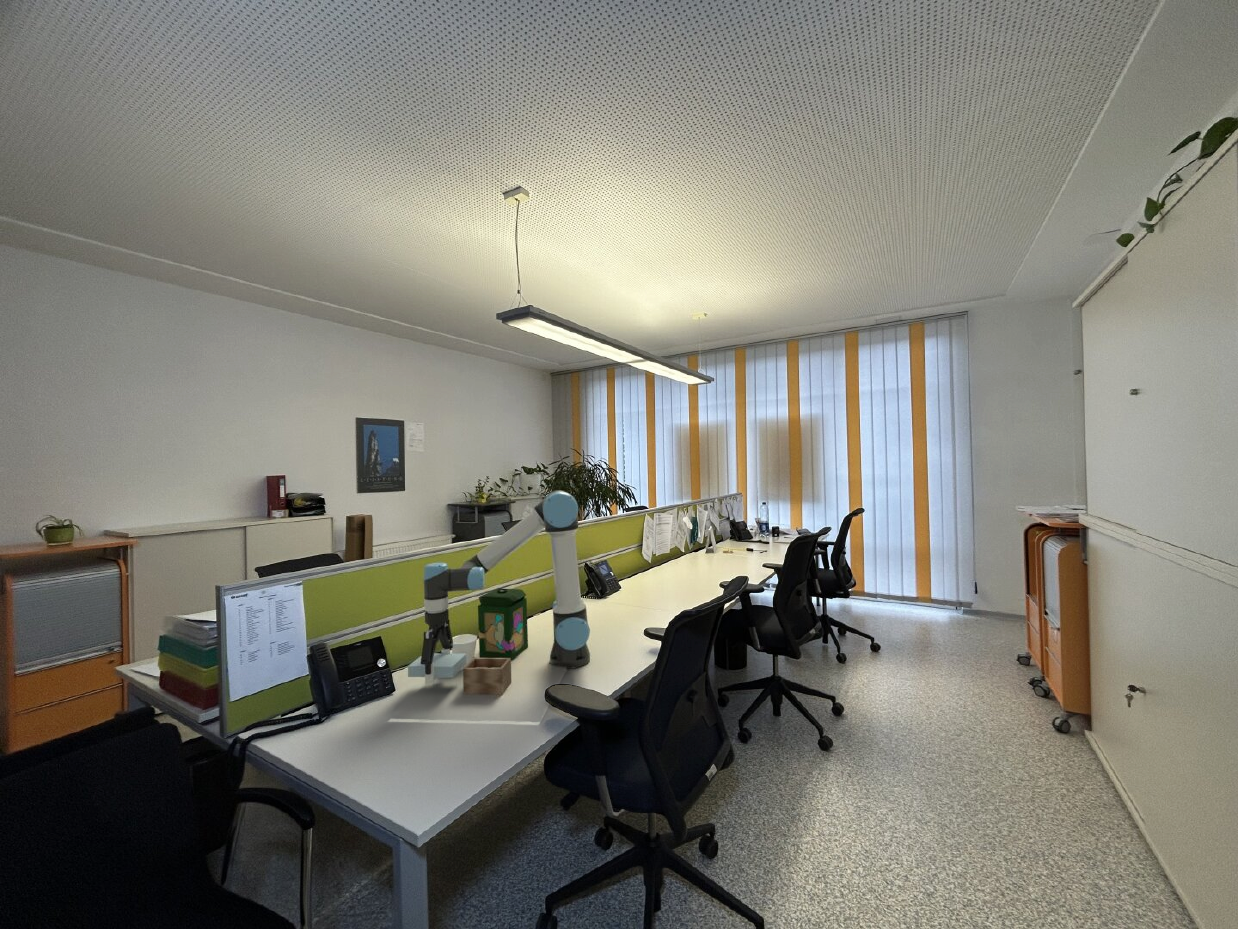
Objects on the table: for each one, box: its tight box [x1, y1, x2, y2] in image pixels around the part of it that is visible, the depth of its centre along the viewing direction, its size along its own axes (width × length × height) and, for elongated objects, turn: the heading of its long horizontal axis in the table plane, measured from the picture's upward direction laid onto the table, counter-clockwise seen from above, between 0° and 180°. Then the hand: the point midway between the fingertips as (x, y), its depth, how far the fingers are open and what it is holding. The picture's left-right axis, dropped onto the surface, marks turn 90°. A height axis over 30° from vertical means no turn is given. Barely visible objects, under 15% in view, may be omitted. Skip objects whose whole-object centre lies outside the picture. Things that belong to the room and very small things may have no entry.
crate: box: [462, 657, 513, 696], centre depth 163 cm, size 13×9×9 cm
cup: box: [449, 633, 478, 671], centre depth 182 cm, size 10×10×11 cm
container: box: [477, 587, 529, 662], centre depth 196 cm, size 15×18×25 cm
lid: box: [407, 652, 466, 679], centre depth 165 cm, size 15×11×4 cm
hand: (438, 675), depth 165 cm, fingers closed on lid, 11 cm apart
